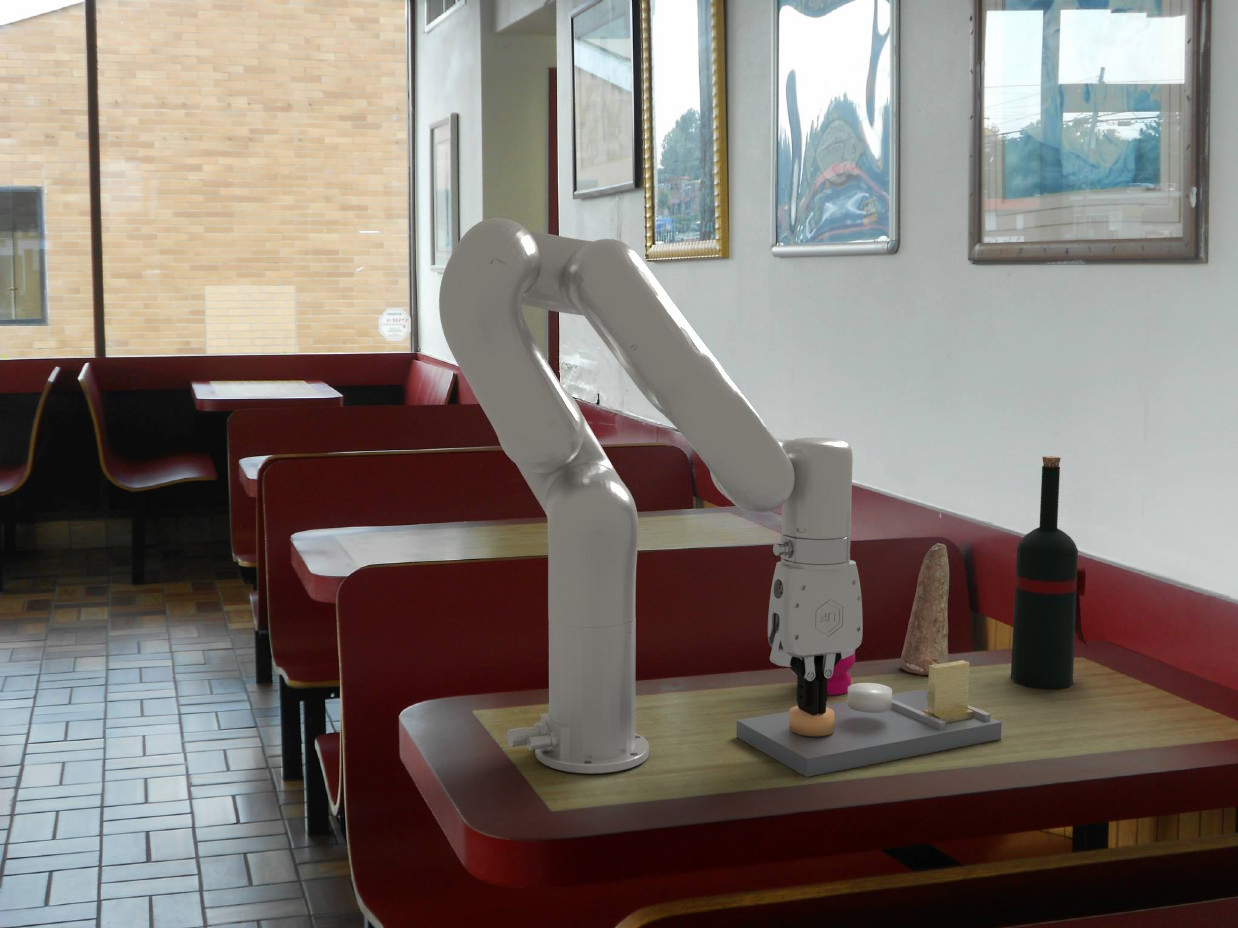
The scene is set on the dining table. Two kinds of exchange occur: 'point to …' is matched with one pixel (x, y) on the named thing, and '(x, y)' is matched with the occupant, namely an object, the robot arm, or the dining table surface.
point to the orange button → (811, 722)
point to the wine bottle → (1047, 596)
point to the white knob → (869, 697)
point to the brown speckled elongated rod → (928, 615)
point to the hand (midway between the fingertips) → (811, 710)
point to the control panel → (866, 735)
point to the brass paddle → (949, 691)
